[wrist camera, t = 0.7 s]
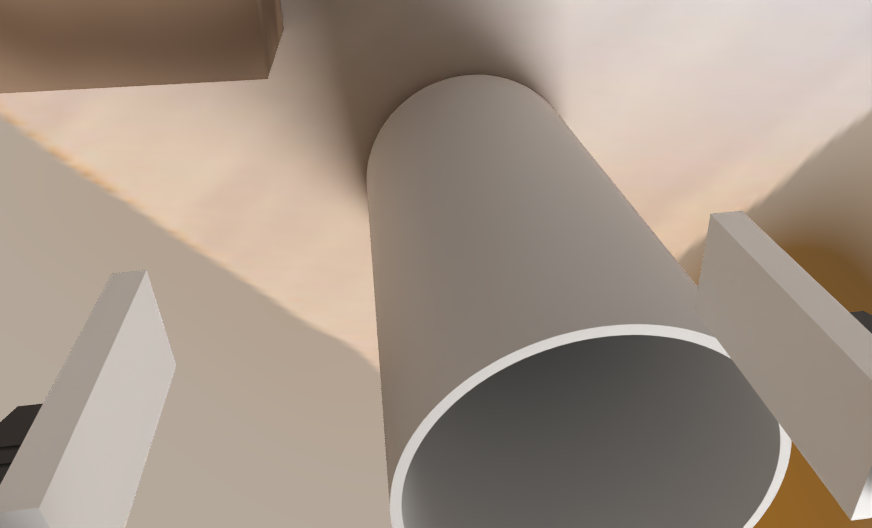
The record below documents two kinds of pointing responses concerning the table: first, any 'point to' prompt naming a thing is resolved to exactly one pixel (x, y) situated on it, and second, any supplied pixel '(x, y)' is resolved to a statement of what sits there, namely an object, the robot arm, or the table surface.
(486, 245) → the cylinder vase
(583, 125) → the table surface
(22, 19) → the shelf
